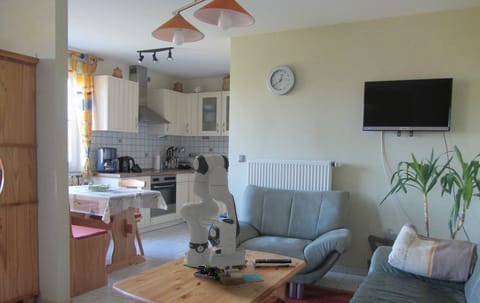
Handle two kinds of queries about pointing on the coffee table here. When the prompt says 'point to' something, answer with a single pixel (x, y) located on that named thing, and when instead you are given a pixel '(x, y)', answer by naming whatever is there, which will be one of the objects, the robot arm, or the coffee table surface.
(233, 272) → the birch tile
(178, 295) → the coffee table surface
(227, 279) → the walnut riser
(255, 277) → the teal mat
